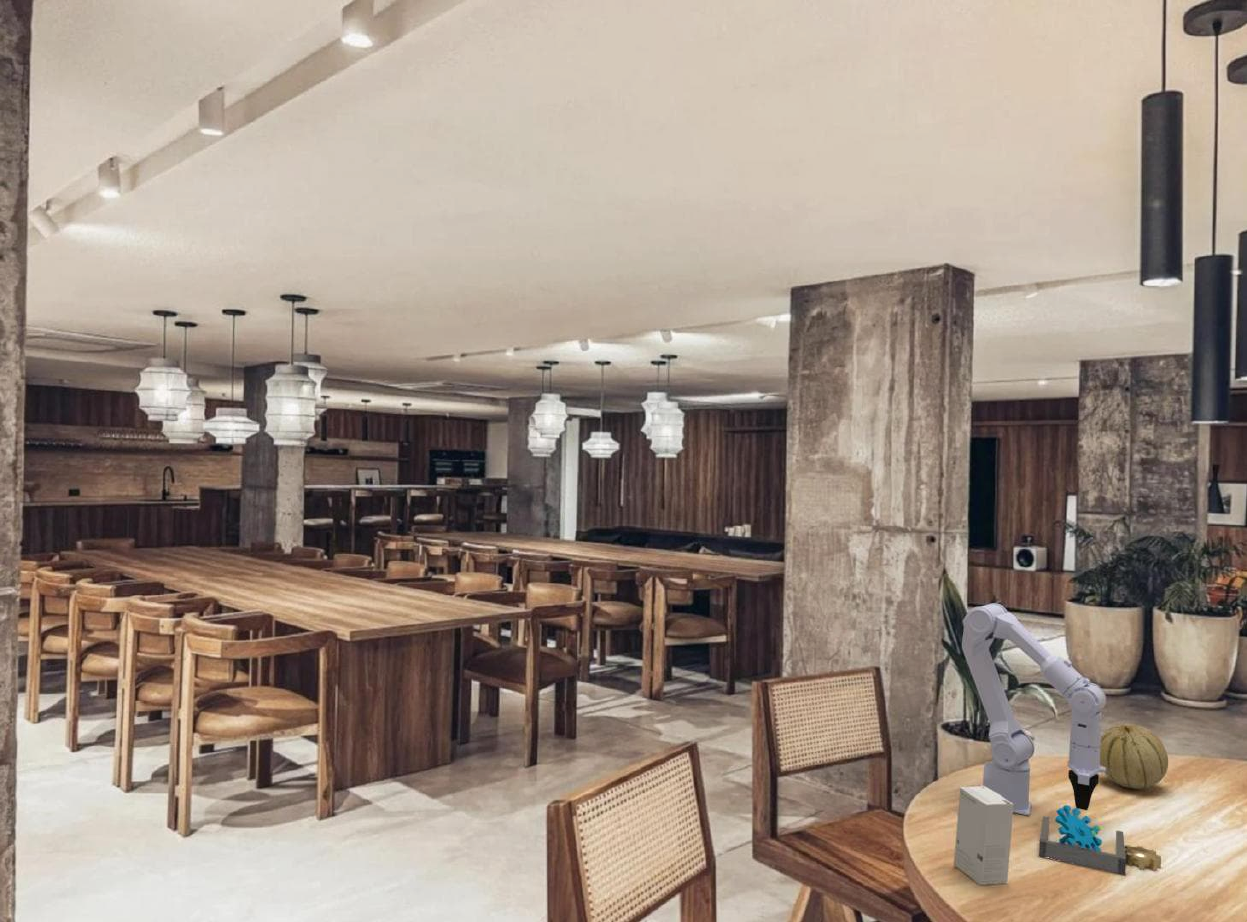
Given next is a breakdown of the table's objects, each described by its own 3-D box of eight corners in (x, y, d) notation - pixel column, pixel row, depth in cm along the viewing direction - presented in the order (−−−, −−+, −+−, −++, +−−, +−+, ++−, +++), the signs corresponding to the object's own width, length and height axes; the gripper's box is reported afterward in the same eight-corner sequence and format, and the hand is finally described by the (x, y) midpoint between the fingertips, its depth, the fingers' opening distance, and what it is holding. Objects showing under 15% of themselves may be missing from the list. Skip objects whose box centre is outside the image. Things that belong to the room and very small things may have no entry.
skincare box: (953, 866, 165) (956, 786, 165) (981, 863, 166) (984, 784, 166) (982, 887, 157) (985, 803, 157) (1011, 884, 158) (1014, 801, 158)
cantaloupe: (1167, 784, 213) (1170, 722, 213) (1166, 803, 200) (1168, 737, 200) (1097, 771, 221) (1100, 711, 221) (1092, 788, 208) (1094, 724, 208)
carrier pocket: (1038, 856, 170) (1039, 841, 170) (1042, 830, 183) (1042, 815, 183) (1163, 883, 161) (1164, 867, 161) (1158, 854, 173) (1158, 838, 173)
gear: (1076, 854, 168) (1050, 802, 175) (1055, 867, 172) (1030, 816, 179) (1117, 854, 172) (1090, 804, 179) (1095, 866, 176) (1070, 817, 183)
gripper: (1107, 757, 177) (1104, 825, 177) (1106, 737, 190) (1103, 801, 190) (1068, 750, 180) (1064, 816, 180) (1069, 731, 193) (1066, 794, 193)
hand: (1081, 808), depth 185 cm, fingers closed
